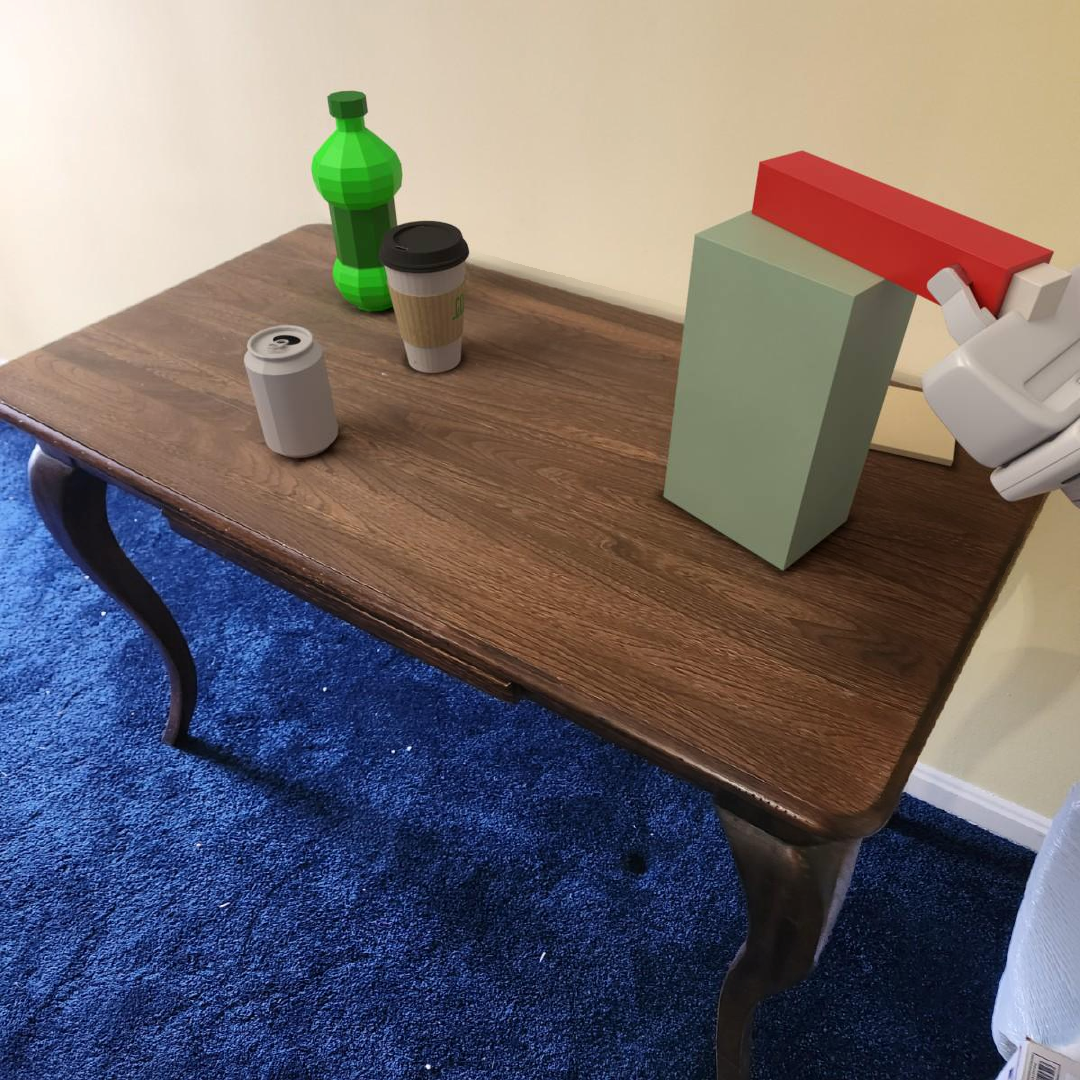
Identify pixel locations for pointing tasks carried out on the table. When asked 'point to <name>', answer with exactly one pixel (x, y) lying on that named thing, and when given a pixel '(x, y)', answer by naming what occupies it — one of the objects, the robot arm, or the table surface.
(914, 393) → the mat
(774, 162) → the long red beam
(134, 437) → the table surface
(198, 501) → the table surface
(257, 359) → the can
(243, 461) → the table surface
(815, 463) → the stand
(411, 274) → the coffee cup
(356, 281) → the plastic bottle
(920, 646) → the table surface
